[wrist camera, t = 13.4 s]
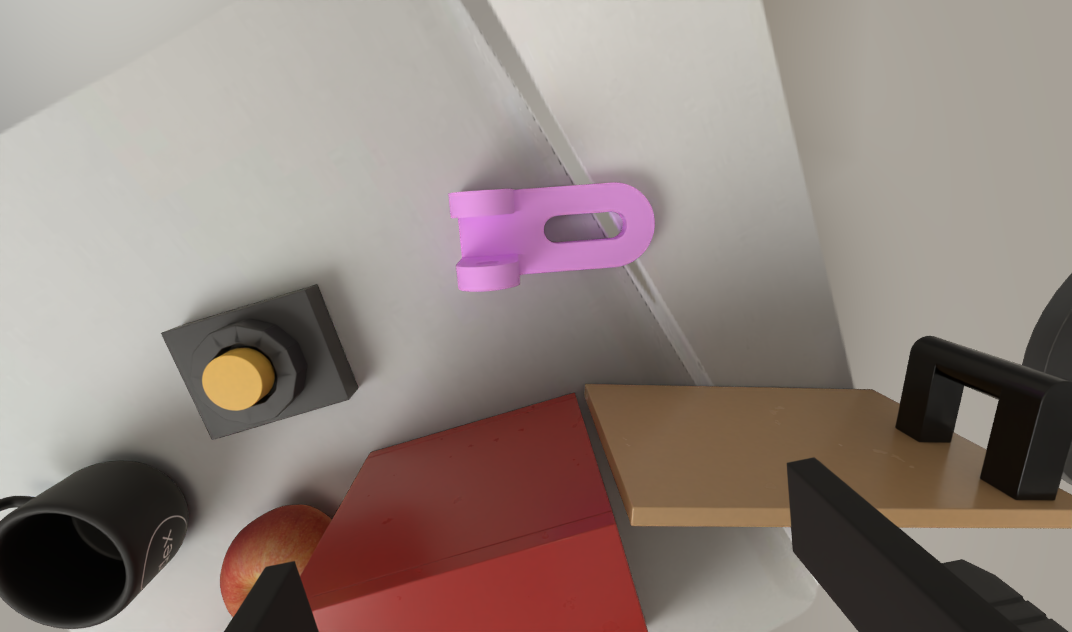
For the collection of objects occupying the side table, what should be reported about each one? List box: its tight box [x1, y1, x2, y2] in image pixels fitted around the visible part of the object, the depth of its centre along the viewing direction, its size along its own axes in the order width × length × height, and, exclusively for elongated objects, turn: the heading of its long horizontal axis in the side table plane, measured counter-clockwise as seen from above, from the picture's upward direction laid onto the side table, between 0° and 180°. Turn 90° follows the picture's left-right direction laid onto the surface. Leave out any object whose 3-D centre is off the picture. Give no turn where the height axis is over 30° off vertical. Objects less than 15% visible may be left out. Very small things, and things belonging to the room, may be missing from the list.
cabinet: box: [300, 393, 648, 632], centre depth 33 cm, size 16×22×16 cm
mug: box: [0, 461, 188, 629], centre depth 35 cm, size 12×9×7 cm
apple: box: [220, 504, 332, 617], centre depth 36 cm, size 8×8×8 cm
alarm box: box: [161, 285, 358, 440], centre depth 35 cm, size 10×8×4 cm
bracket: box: [448, 183, 655, 291], centre depth 32 cm, size 13×6×7 cm, turn 94°
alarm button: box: [202, 348, 275, 411], centre depth 33 cm, size 4×4×2 cm
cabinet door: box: [584, 336, 1072, 528], centre depth 31 cm, size 7×22×16 cm, turn 88°
